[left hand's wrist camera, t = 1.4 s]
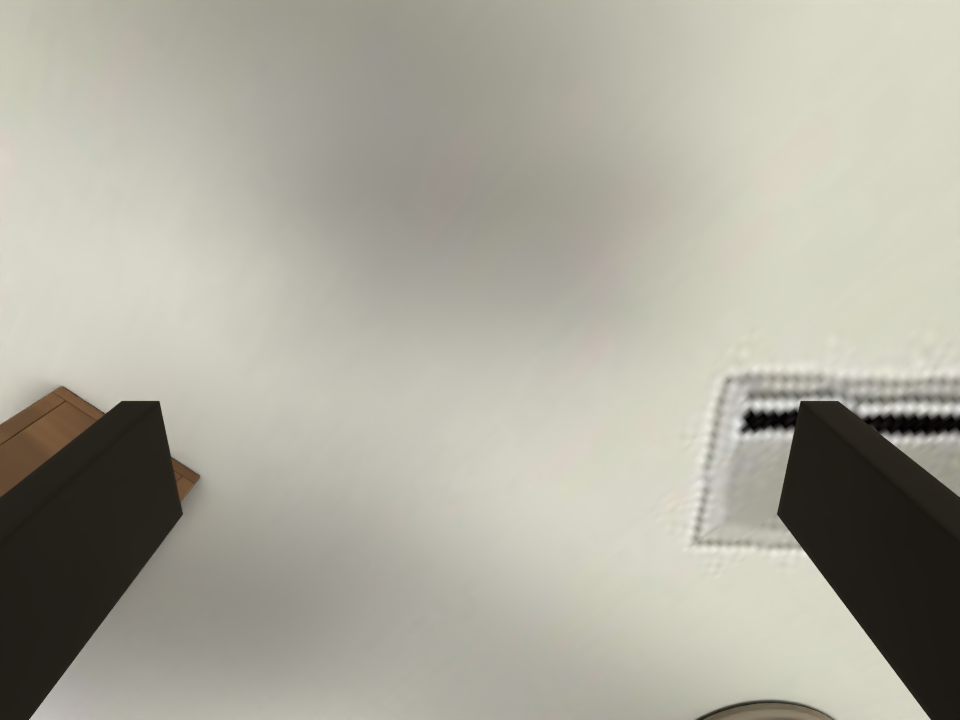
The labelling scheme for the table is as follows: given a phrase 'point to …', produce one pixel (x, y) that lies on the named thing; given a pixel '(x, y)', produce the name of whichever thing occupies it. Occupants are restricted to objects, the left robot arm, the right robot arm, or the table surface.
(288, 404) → the table surface
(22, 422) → the chest
